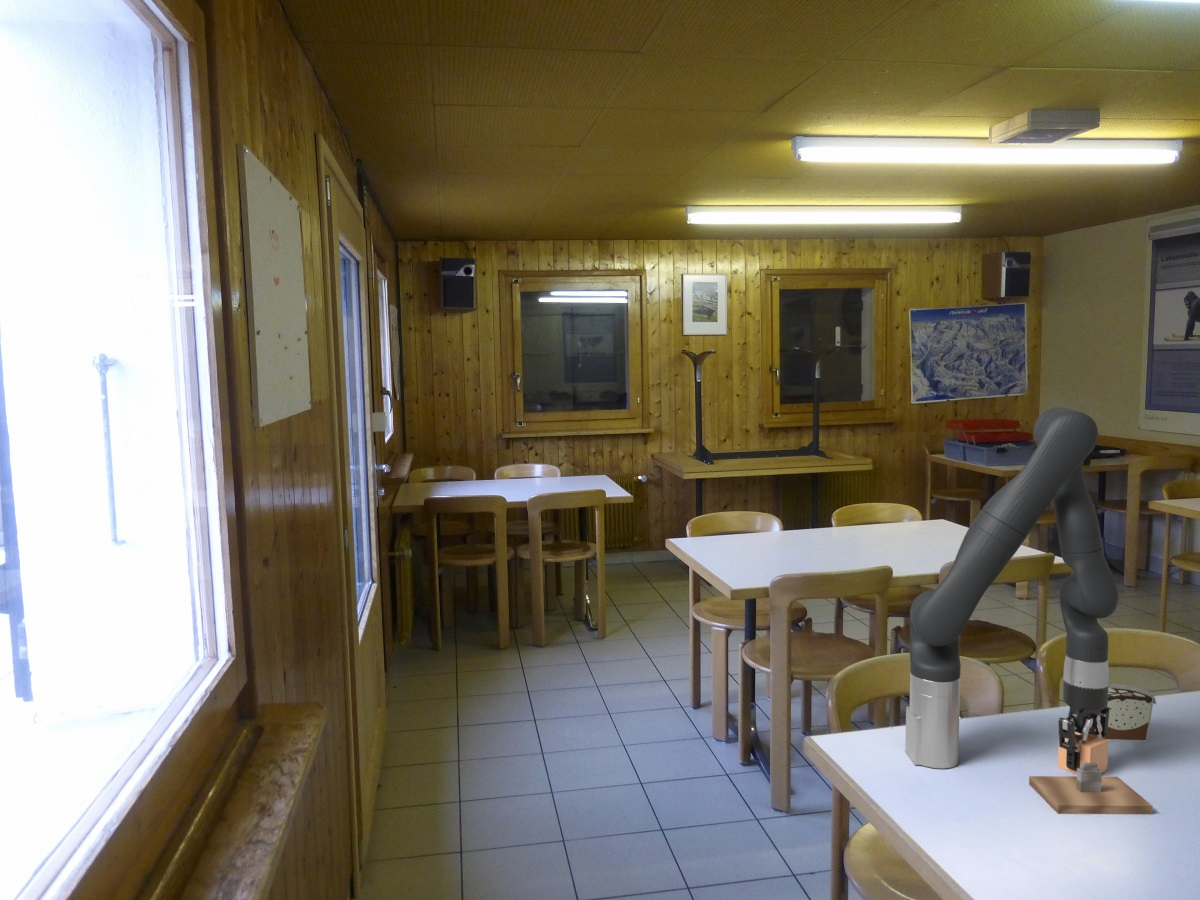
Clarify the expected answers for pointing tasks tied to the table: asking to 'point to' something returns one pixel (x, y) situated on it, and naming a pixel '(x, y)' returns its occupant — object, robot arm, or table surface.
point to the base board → (1089, 793)
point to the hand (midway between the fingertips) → (1082, 764)
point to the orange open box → (1088, 753)
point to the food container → (1128, 713)
